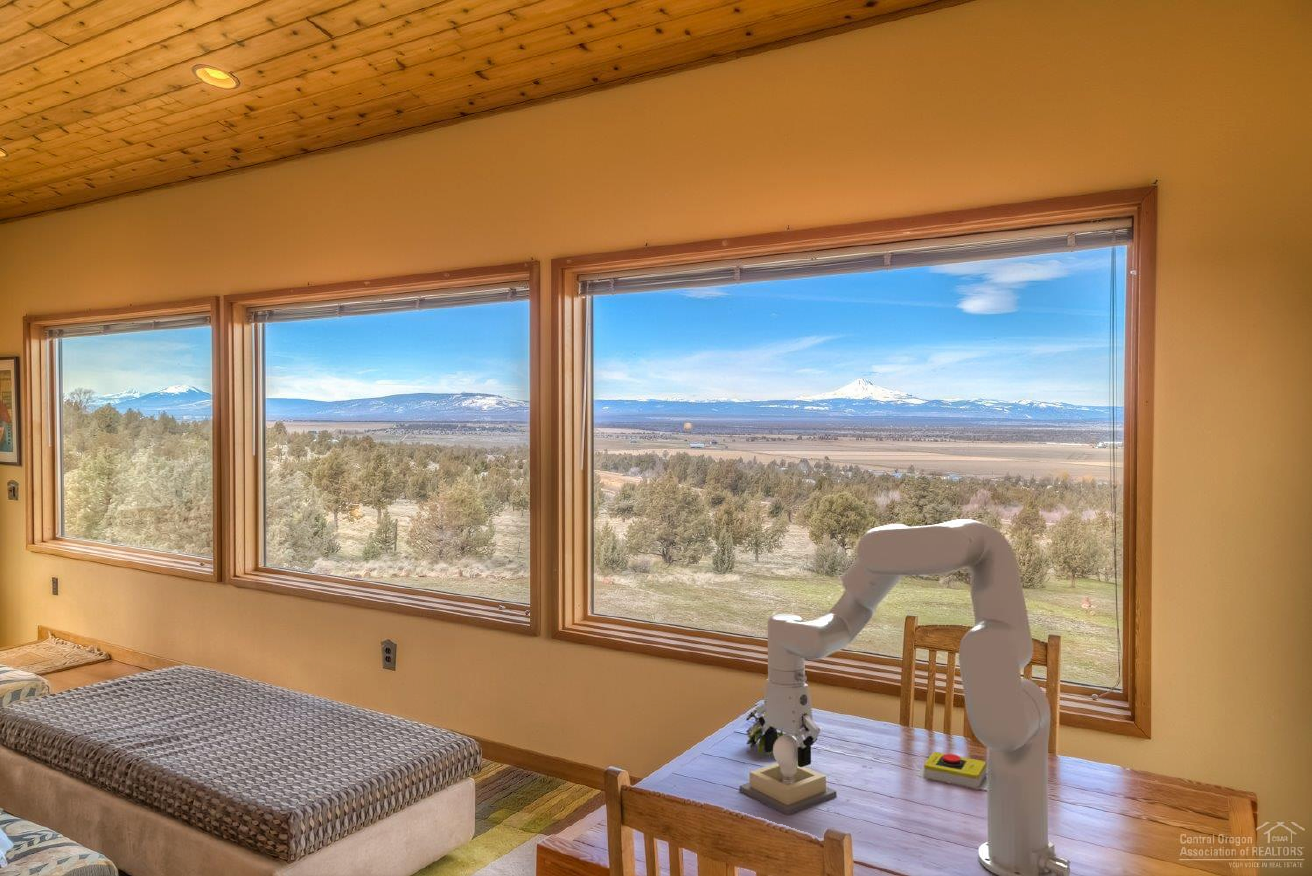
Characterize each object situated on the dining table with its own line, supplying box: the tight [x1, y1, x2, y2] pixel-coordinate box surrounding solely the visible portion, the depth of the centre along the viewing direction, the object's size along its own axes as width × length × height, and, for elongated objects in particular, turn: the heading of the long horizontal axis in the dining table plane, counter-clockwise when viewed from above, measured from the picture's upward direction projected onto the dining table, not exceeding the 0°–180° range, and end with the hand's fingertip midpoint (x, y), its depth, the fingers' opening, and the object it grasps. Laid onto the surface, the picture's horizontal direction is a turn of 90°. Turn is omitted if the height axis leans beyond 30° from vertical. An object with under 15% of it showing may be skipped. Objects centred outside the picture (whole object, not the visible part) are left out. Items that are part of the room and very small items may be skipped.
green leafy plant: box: [745, 708, 790, 758], centre depth 195 cm, size 11×11×12 cm
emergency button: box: [916, 751, 987, 792], centre depth 178 cm, size 9×4×15 cm
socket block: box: [739, 762, 837, 816], centre depth 170 cm, size 14×14×4 cm
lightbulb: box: [772, 734, 800, 785], centre depth 170 cm, size 6×6×11 cm
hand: (787, 758), depth 170 cm, fingers open, 9 cm apart
